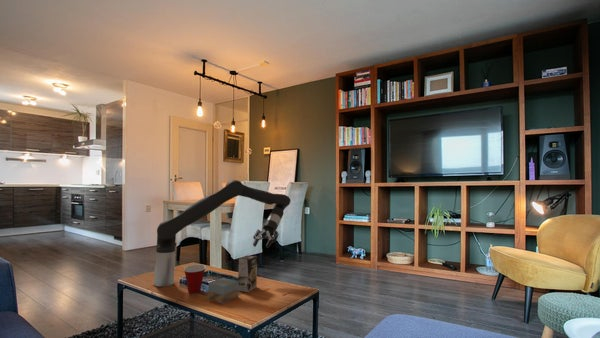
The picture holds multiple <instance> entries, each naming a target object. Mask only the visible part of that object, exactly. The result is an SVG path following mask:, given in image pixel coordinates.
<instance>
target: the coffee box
mask: <svg viewBox="0 0 600 338" xmlns="http://www.w3.org/2000/svg"><path fill="white" fill-rule="evenodd" d="M237 275H238V276H237V277H238V280H237V281H238V290H239V292H245V293H249V292H251V291H253V290H254V289H256V288H257V284H258V283H257V281H258V280H257V279H258V276H257V275H258V255H244V256H243V257H239V258H238V274H237Z"/></svg>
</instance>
